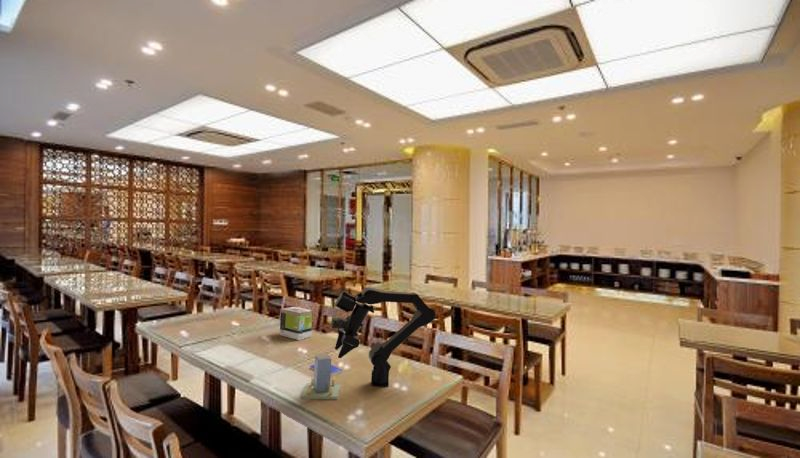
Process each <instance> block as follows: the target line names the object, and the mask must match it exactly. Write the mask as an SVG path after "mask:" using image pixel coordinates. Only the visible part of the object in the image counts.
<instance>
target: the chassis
mask: <svg viewBox="0 0 800 458" xmlns="http://www.w3.org/2000/svg"><path fill="white" fill-rule="evenodd" d="M310 381H311V382H309V383H308V382H306V384H305V385H304V388H303V390H302V392H301V395H300V399H302V400H303V399H307V400H309V399H310V400H338V397H339V393H340V391H341V390H340V389H341V383H336V378H331V383H330V387H329V392H323V393H316V392H315V390H314V377H312V378H311V380H310Z"/></svg>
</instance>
